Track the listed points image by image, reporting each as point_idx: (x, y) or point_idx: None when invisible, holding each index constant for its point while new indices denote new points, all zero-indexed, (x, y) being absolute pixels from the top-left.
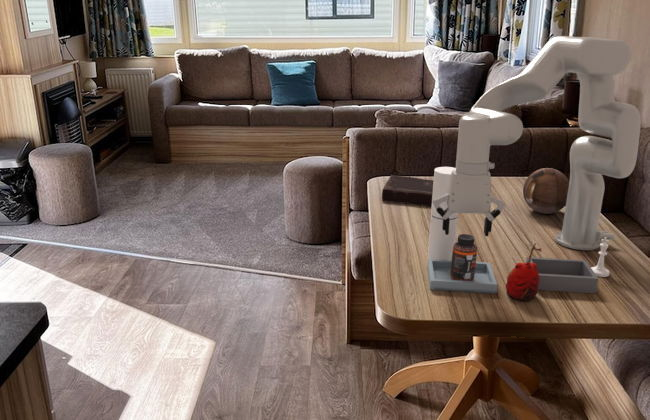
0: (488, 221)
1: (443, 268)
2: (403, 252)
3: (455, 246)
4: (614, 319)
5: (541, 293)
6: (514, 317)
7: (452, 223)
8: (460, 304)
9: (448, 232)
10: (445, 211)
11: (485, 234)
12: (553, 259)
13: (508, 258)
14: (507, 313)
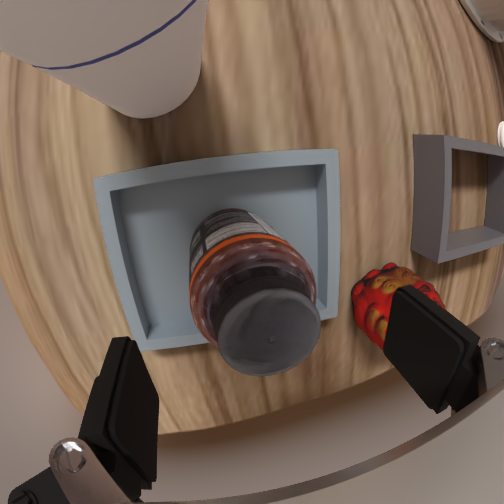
0: (441, 410)
1: (160, 183)
2: (29, 79)
3: (204, 335)
4: (469, 317)
5: (419, 263)
6: (338, 382)
7: (164, 45)
8: (230, 378)
9: (157, 409)
10: (83, 495)
11: (387, 357)
12: (484, 149)
13: (378, 48)
14: (329, 375)
